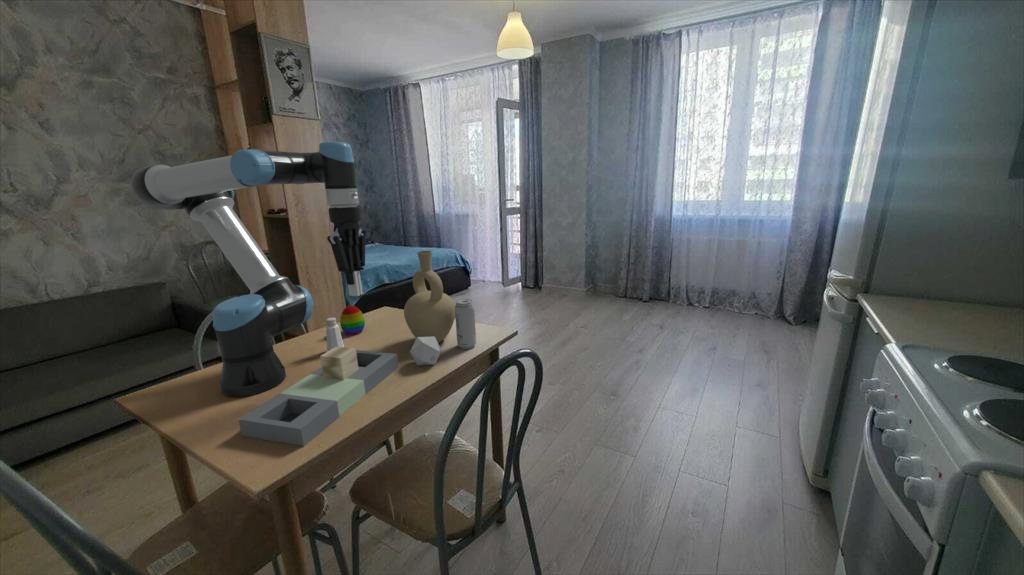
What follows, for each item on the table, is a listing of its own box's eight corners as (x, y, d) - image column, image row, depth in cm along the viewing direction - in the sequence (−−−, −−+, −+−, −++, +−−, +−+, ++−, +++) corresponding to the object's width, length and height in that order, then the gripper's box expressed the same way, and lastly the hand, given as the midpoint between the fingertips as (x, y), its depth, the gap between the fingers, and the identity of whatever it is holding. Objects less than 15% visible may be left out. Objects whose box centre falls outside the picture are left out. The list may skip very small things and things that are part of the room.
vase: (398, 341, 136) (388, 252, 129) (440, 328, 147) (433, 245, 139) (423, 355, 124) (414, 259, 117) (467, 340, 135) (462, 251, 127)
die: (427, 374, 113) (444, 344, 114) (401, 359, 114) (418, 329, 115) (433, 371, 122) (449, 343, 123) (408, 357, 122) (424, 329, 123)
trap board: (242, 435, 87) (238, 419, 86) (351, 361, 122) (349, 349, 120) (303, 446, 83) (300, 429, 82) (398, 366, 117) (397, 353, 116)
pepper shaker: (340, 354, 127) (335, 321, 124) (323, 355, 127) (318, 321, 124) (348, 347, 132) (343, 315, 129) (331, 348, 132) (326, 316, 130)
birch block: (323, 377, 103) (320, 356, 102) (339, 367, 109) (336, 346, 107) (343, 380, 102) (340, 358, 100) (358, 369, 107) (355, 348, 106)
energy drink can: (455, 344, 132) (452, 300, 128) (473, 341, 134) (470, 297, 130) (460, 351, 127) (456, 305, 123) (478, 347, 129) (476, 302, 125)
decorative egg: (370, 329, 148) (367, 303, 145) (354, 337, 141) (350, 310, 138) (353, 327, 151) (349, 301, 149) (336, 334, 144) (332, 308, 141)
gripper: (338, 208, 96) (352, 302, 103) (372, 204, 109) (382, 288, 115) (312, 208, 98) (327, 301, 105) (348, 204, 111) (359, 287, 117)
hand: (356, 294), depth 110 cm, fingers closed
